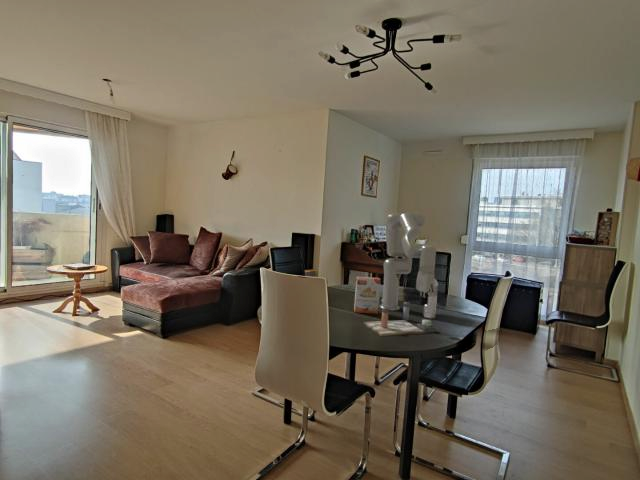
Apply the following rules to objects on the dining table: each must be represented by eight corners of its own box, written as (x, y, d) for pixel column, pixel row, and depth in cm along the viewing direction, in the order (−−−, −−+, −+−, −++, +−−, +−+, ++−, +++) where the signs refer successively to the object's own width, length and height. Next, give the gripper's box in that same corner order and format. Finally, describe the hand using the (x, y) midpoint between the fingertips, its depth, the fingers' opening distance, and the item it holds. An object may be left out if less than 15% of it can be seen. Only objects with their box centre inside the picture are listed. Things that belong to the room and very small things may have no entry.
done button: (419, 326, 195) (420, 319, 195) (427, 325, 197) (427, 319, 196) (425, 328, 191) (425, 322, 191) (432, 328, 192) (433, 321, 192)
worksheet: (363, 323, 198) (363, 321, 198) (404, 322, 206) (404, 319, 206) (380, 335, 180) (380, 333, 180) (424, 333, 188) (424, 330, 188)
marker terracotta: (379, 326, 191) (381, 307, 190) (385, 326, 192) (386, 307, 191) (382, 328, 188) (384, 309, 187) (388, 328, 189) (390, 308, 188)
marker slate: (401, 319, 212) (402, 302, 211) (406, 319, 213) (407, 301, 212) (404, 321, 208) (405, 303, 208) (409, 320, 209) (411, 303, 209)
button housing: (416, 328, 196) (416, 323, 196) (427, 327, 198) (427, 323, 198) (424, 332, 189) (424, 327, 189) (435, 331, 192) (436, 327, 192)
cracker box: (354, 312, 219) (357, 277, 217) (353, 310, 225) (356, 276, 223) (378, 314, 219) (381, 279, 218) (376, 311, 225) (379, 277, 224)
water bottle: (427, 319, 215) (430, 276, 213) (420, 315, 222) (424, 274, 220) (437, 318, 217) (441, 276, 215) (431, 315, 223) (434, 274, 222)
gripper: (412, 267, 197) (409, 301, 198) (429, 272, 183) (425, 308, 184) (424, 267, 199) (422, 301, 201) (441, 272, 185) (438, 308, 186)
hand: (423, 304), depth 192 cm, fingers closed
